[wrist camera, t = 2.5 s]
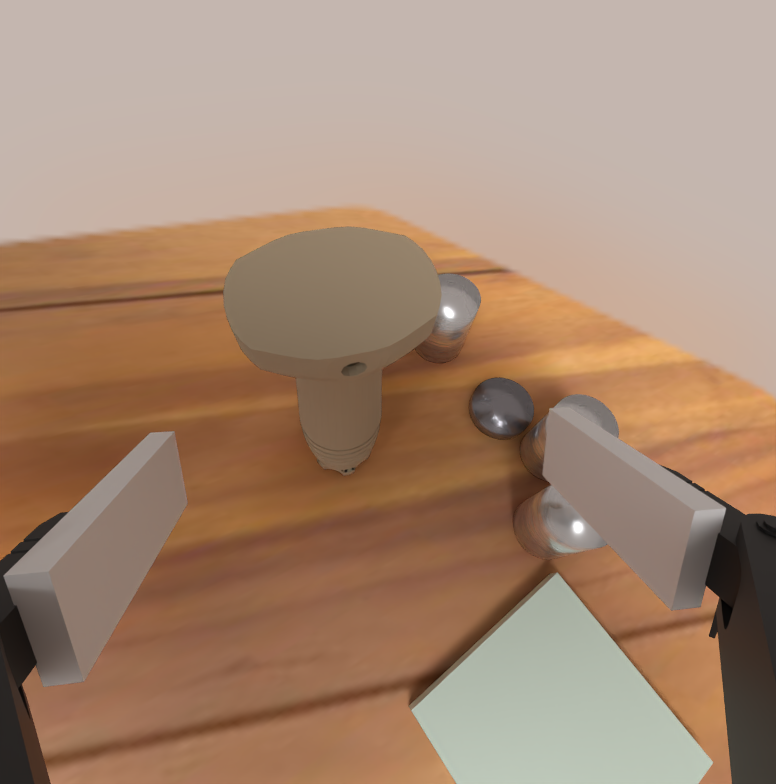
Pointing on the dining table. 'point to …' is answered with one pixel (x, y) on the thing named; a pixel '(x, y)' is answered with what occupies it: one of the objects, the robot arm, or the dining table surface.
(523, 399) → the disc
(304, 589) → the dining table surface
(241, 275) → the handle
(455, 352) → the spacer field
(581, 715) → the pad
